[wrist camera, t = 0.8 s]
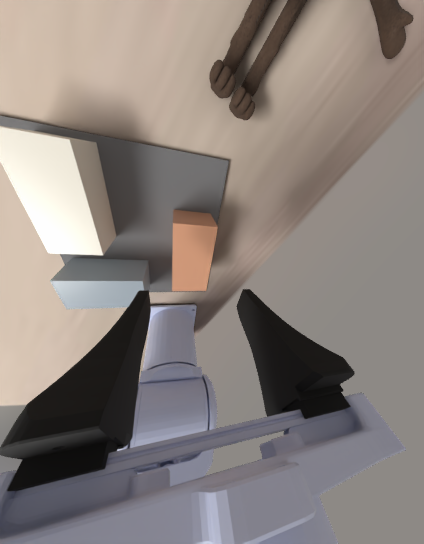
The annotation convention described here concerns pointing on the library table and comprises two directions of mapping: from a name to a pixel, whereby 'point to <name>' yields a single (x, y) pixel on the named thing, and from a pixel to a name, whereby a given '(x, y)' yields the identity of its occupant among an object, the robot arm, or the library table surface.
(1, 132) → the cream brick
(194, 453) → the robot arm
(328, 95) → the library table surface
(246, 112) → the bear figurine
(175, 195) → the charcoal mat
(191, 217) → the terracotta brick
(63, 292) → the slate brick
